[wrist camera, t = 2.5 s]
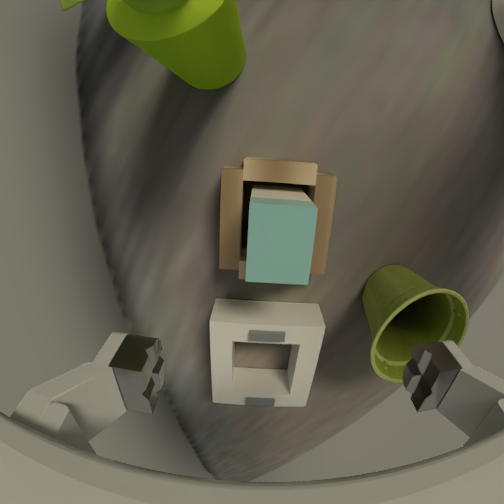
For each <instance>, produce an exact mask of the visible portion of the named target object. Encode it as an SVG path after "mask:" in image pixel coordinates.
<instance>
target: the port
mask: <svg viewBox="0 0 504 504" xmlns="http://www.w3.org/2000/svg"><path fill="white" fill-rule="evenodd" d="M324 332H325V323H324V320H323V317H322V314H321V311H320V308H319V305H318V304H315V303H289V302H268V301H251V300H235V299H221V298H216V299H215V303H214V306H213V310H212V314H211V317H210V353H211V377H212V396H213V403H224V404H237V405H252V406H306V402H307V399H308V395H309V392H310V388H311V384H312V381H313V377H314V373H315V369H316V365H317V361H318V357H319V353H320V349H321V345H322V340H323V336H324ZM235 341H236V342H252V343H271V344H292V345H291V351H290V357H289V363H288V369H287V370H283V369H257V368H240V367H234V362H235Z"/></svg>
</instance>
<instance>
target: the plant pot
mask: <svg viewBox="0 0 504 504" xmlns="http://www.w3.org/2000/svg"><path fill="white" fill-rule="evenodd" d="M362 301H363V305H364V309H365V312H366V316H367V319H368V323H369V327H370V331H371V335H372V344H371V349H370V360H371V364H372V367H373V369H374V371H375V372H376V373H377V375H378V376H380V377H381V378H382V379H384V380H387V381H390V382H395V383H403V370H404V368H405V365H406V363H408V362H409V361H410V360H411V359H412V357H411V351H412V349H413V347H414V346H415V345H416V344H423V343H432V342H439V341H445V340H452V341H454V343H455V344H456V345H457V346H458V347H459V346H460V344H461V343H462V341H463V339H464V336H465V334H466V331H467V328H468V323H469V309H468V306H467V303H466V301H465V300H464V298H463V297H462V296H461V295H460V294H458V293H457V292H455V291H453V290H451V289H447V288H440V287H437V286H434V285H432V284H431V283H429V282H428V281H426V280H425V279H423V278H422V277H420V276H419V275H417V274H416V273H414V272H412V271H411V270H409V269H408V268H406V267H404V266H400V265H388V266H385V267H382V268H381V269H379V270H377V271H376V272H375V273H374V274H373V275H372V276H371V277H370V278H369V279H368V281H367V282H366V286H365V289H364V292H363V295H362Z"/></svg>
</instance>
